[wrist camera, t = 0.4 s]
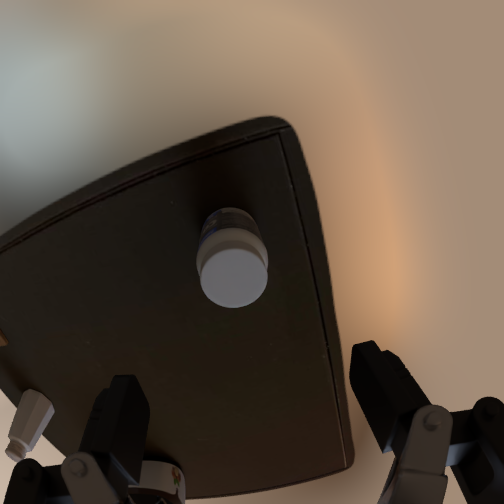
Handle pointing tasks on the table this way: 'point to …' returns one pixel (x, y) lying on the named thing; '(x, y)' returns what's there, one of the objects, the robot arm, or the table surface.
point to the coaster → (3, 339)
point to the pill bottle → (232, 258)
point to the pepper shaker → (28, 424)
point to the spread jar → (159, 482)
